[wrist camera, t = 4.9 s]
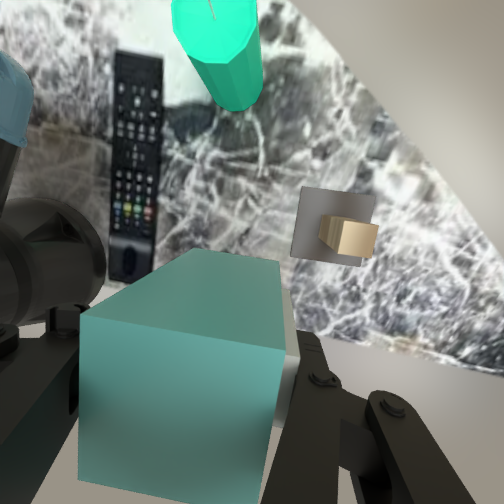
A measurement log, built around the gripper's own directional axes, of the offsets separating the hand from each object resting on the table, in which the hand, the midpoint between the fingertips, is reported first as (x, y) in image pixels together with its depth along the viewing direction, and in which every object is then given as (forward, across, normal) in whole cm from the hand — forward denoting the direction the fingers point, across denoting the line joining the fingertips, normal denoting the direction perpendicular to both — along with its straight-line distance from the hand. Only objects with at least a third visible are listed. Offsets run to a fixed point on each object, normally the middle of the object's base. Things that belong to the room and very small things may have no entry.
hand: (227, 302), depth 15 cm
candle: (+17, -4, +18) cm, 25 cm away
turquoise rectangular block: (+1, 0, 0) cm, 1 cm away
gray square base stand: (+17, +9, +4) cm, 19 cm away
